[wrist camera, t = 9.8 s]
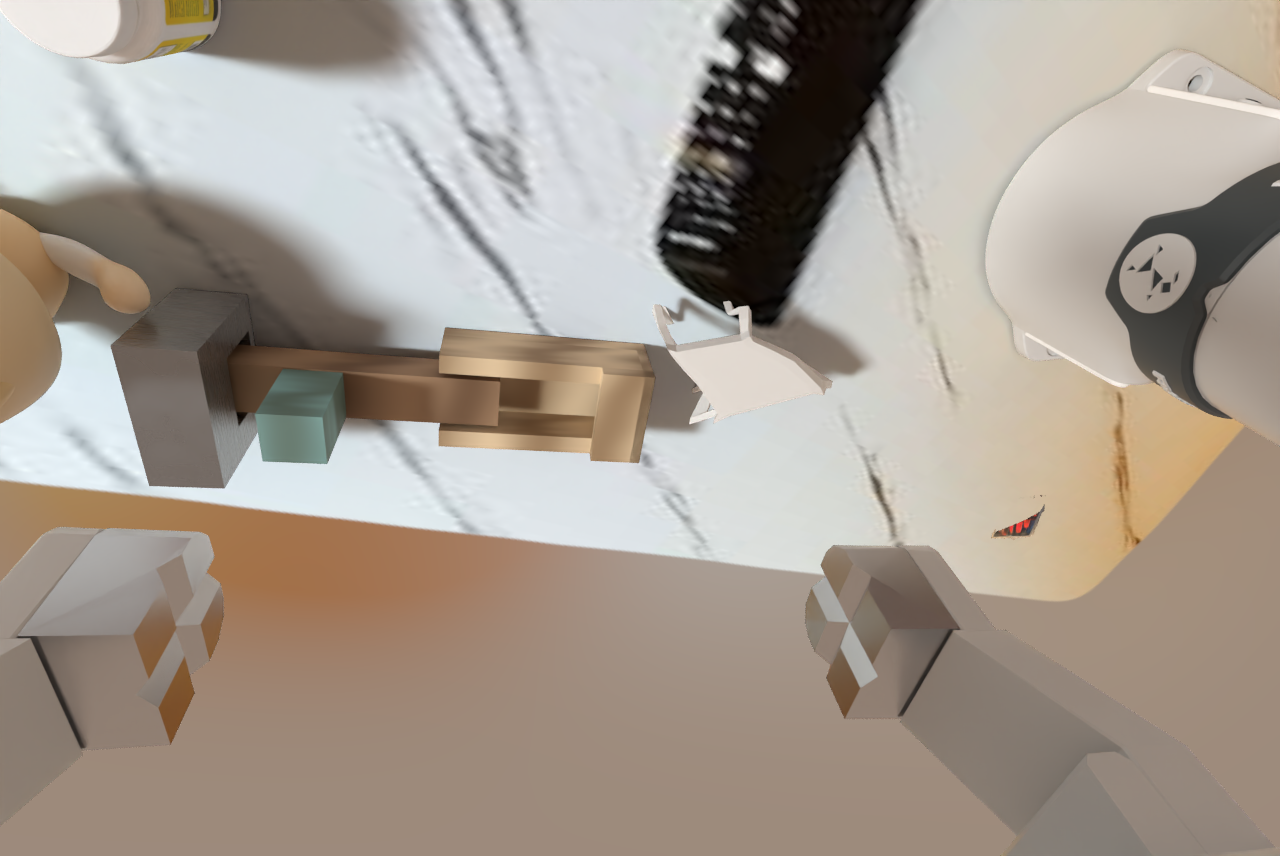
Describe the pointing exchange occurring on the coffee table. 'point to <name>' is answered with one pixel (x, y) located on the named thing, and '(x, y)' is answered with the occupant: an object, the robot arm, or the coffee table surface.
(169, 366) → the socket block
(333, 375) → the slide bar
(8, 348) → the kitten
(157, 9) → the supplement bottle
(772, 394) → the origami figure
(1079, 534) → the coffee table surface
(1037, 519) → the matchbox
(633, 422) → the guide channel
